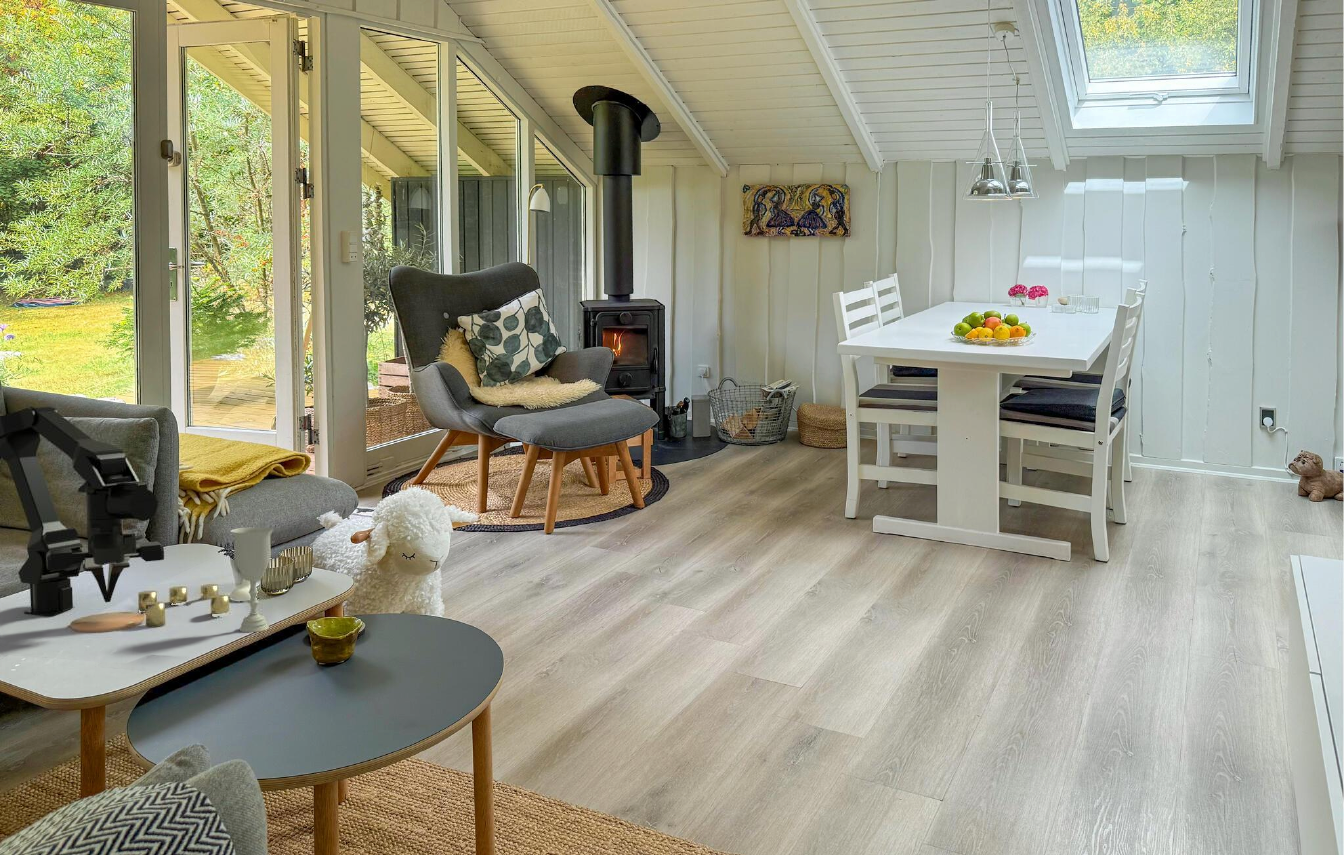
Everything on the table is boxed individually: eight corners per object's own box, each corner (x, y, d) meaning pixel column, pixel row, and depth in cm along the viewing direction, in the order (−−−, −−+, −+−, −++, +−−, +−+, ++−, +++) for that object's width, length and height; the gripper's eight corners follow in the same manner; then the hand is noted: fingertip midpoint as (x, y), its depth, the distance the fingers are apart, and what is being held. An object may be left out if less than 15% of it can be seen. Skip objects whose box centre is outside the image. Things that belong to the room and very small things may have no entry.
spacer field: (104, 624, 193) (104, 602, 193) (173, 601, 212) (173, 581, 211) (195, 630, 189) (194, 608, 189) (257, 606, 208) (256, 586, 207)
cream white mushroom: (225, 605, 209) (224, 565, 208) (257, 600, 213) (257, 561, 212) (235, 611, 204) (234, 570, 204) (268, 606, 208) (267, 566, 207)
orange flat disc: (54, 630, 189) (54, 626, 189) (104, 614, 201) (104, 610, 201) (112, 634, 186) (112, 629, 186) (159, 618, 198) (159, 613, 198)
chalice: (282, 624, 194) (280, 527, 192) (264, 633, 187) (262, 533, 186) (244, 623, 194) (242, 526, 193) (225, 632, 187) (222, 532, 186)
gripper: (47, 527, 180) (50, 617, 181) (167, 519, 191) (169, 604, 192) (44, 519, 190) (47, 604, 191) (158, 511, 200) (161, 592, 201)
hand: (107, 601), depth 193 cm, fingers closed
